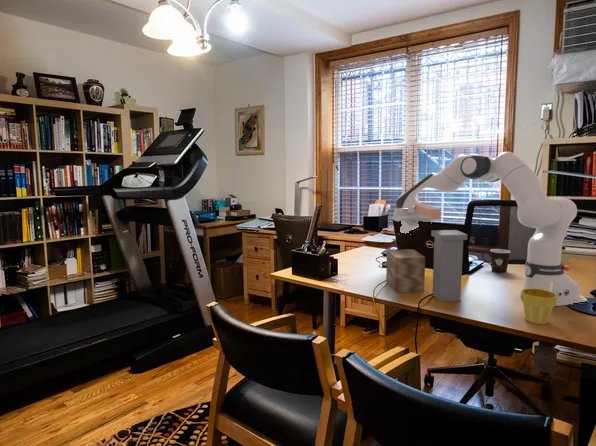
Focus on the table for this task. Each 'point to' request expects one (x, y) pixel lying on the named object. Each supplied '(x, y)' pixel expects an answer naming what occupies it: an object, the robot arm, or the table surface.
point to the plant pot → (538, 304)
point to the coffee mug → (498, 260)
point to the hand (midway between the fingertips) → (420, 207)
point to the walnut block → (405, 270)
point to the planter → (427, 211)
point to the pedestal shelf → (447, 264)
